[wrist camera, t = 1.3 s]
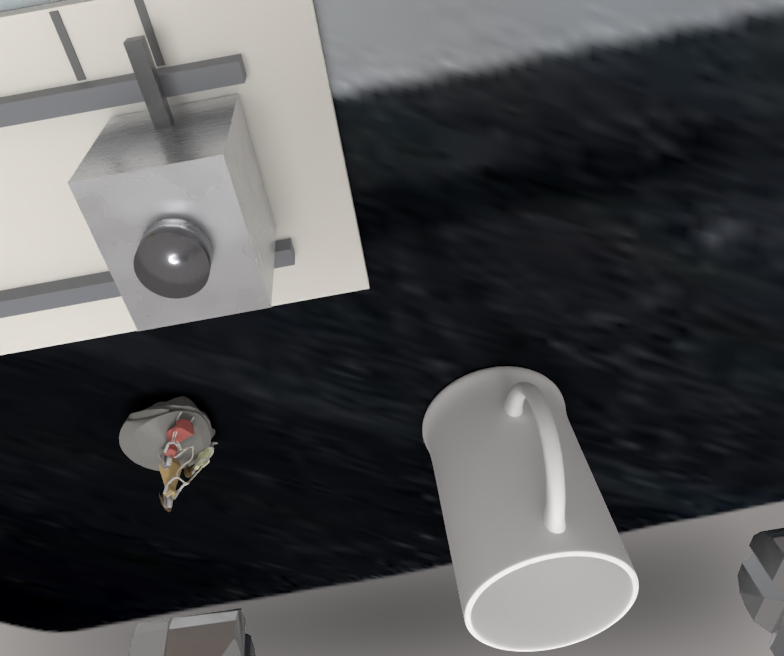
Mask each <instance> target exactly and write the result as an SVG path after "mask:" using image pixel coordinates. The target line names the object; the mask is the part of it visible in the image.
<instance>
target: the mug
mask: <svg viewBox="0 0 784 656" xmlns="http://www.w3.org/2000/svg"><path fill="white" fill-rule="evenodd" d="M422 434H423V439H424V442H425V445H426V447H427V449H428V451H429V453H430V455H431V459H432V463H433V468H434V473H435V478H436V482H437V487H438V492H439V497H440V502H441V507H442V512H443V517H444V522H445V527H446V532H447V537H448V542H449V547H450V552H451V557H452V562H453V567H454V572H455V577H456V582H457V587H458V592H459V597H460V602H461V607H462V611H463V616H464V620H465V624H466V627H467V629H468V630H469V632H470V633H471V634H472V635H473V636H474V637H475V638H476V639H477V640H479V641H480V642H483V643H484V644H486V645H489V646H491V647H494V648H498V649H502V650H508V651H520V652H531V651H543V650H550V649H555V648H560V647H564V646H568V645H571V644H574V643H577V642H580V641H583V640H585V639H588V638H590V637H592V636H594V635H596V634H598V633H600V632H602V631H604V630H605V629H607V628H608V627H610V626H612V625H613V624H614V623H616V622H617V621H618V620H619V619H621V618H622V617H623V616H624V615H625V614H626V613H627V611H628V610H629V609H630V608H631V607H632V605H633V603H634V602H635V600H636V597H637V595H638V589H639V582H638V578H637V575H636V572H635V570H634V568H633V565H632V563H631V561H630V558H629V556H628V554H627V552H626V550H625V547H624V545H623V543H622V540H621V538H620V536H619V534H618V531H617V529H616V527H615V525H614V522H613V520H612V518H611V516H610V513H609V511H608V509H607V507H606V504H605V502H604V500H603V497H602V495H601V493H600V491H599V488H598V486H597V484H596V482H595V479H594V477H593V475H592V473H591V470H590V468H589V466H588V464H587V461H586V459H585V457H584V455H583V452H582V450H581V448H580V446H579V443H578V441H577V439H576V436H575V434H574V432H573V430H572V427H571V425H570V423H569V420H568V418H567V415H566V408H565V402H564V399H563V396H562V394H561V392H560V391H559V389H558V388H557V386H556V385H555V384H554V383H553V382H552V381H551V380H550V379H548V378H547V377H545V376H544V375H542V374H540V373H538V372H536V371H533V370H530V369H526V368H521V367H513V366H500V367H491V368H486V369H482V370H478V371H475V372H472V373H469V374H467V375H465V376H463V377H461V378H459V379H457V380H455V381H454V382H452V383H451V384H449V385H448V386H446V387H445V388H444V389H443V390H442V391H441V392H440V393H439V394H438V395H437V396H436V397H435V398H434V399H433V401H432V402H431V403H430V405H429V407H428V409H427V411H426V413H425V416H424V419H423V425H422Z"/></svg>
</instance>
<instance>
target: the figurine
mask: <svg viewBox="0 0 784 656" xmlns="http://www.w3.org/2000/svg"><path fill="white" fill-rule="evenodd" d="M214 435H215V429H213V428H212V427H211V423H210V420H209V418H208V416H207V414H206V413H205V412H203V411H200V410H199V409H198V408H197V406H196V405H195V404H194V403H193V401H192V400H190V399H189V398H187V397H185V396H180V397H177V398H174V399H171V400H169V401H167V402H157V403H156V404H154V405H153V406H151V407H148V408H147V409H145V410H143V411H139V412H134V413H131V414H130V415H129V417H128V418H127V419H126V421H125V423H124V425H123V427H122V429H121V431H120V435H119V442H120V446H121V448H122V450H123V452H124V453H125V454H126V456H128V457H129V458H130V459H131V460H132V461H134V462H135V463H137V464H139V465H141V466H143V467H146V468H149V469H153V470H157V471H160V472H161V475H162V479H163V482H164V485H165V489H164V491H163V496H162V497H161V496H160V494H159V496H160V497H159V498H160V501H161V504H162V505H163V508H164V509H165V510H167V511H168V512H170V511H171V508H172V503H173V499H176V497H177V496H178V494H179V492H180V491H181V489H182V488H183V487H184V486H185V485H188V484H189V483H190V481H191V480H192V479H193V478H194V477H195V476H196V475H197V473H198V472H200V470H201V469H202V468H203V467H205V466H206V465H207V464H208V463H209V462H210V460H209V458H210V457H211V456H212V454H213V452H214V450H213V449H214V448H213V444H218V443H217V442H212V443H211V438H212V437H213V436H214ZM210 444H211V445H210ZM207 461H208V462H207ZM206 462H207V463H206ZM205 463H206V464H205ZM193 464H195V465H194V467H193V466H192V465H193ZM189 466H190V467H189ZM200 466H201V468H200V469H199V467H200ZM187 467H189V468H188V469H187ZM192 467H193V468H192ZM183 468H185V469H184V470H185V471H184V473H185V476H186V477H188V478H189V477H191V475H192V474H194V473H195V470H198V469H199V470H198V471H197V472H196V474H195V475H194V476H193V477H192V478H191V479H190V480H189V482H184V481H183V480H182V479H181V478H179V476H180V473H181V469H183ZM178 479H180V480H181V481H182V482H183V485H182V486H181V487H180V488H179V489H178V490H177V491H176V490H175V488H176V485H177V482H178ZM162 498H163V499H162Z"/></svg>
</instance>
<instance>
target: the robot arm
mask: <svg viewBox="0 0 784 656" xmlns="http://www.w3.org/2000/svg"><path fill="white" fill-rule="evenodd" d="M749 546H750V547H751V549H752V551H753V552H754V553H753V554H752V555H751V556H750V557H748V558H747V559H746V560H745V561H743V562H742V564H741V567H740V570H739V573H738V582H739V590H740V594H741V597H742V600H743V602H744V605H745V607H746V609H747V610H748V612H749V614H750V615H751V617H752V619H753V621H754V622H756V623H757V624H759V625H760V626H762V627H763V628H765V629H766V630H768V631H769V632H770V633H771V641H770V649H771V651H772V652H773V654H774V656H784V528H780V529H774V530H768V531H762V532H759V533H757V534H756V535H754V536H753V538H752V540H751V543H750V545H749ZM245 626H246V619H245V617H244V614H243V612H242V609H241V608H240V609H233V610H227V611H219V612H213V613H206V614H199V615H193V616H186V617H179V618H167V619H161V620H154V621H148V622H142V623H138V625H137V627H136V629H135V631H134V633H133V635H132V640H131V644H130V650H129V655H128V656H256V655H255V648H254V644H253V641H252V637H251V636H250V635H248V634H246V633H245Z"/></svg>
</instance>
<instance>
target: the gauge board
mask: <svg viewBox="0 0 784 656" xmlns="http://www.w3.org/2000/svg"><path fill="white" fill-rule="evenodd" d="M142 35H145V38H146V41H147V44H148V47H149V50H150V52H151V55H152V58H153V61H154V64H155V67H156V70H157V73H158V75H159V78H160V81H161V84H162V87H163V90H164V93H165V95H166V98H167V101H168V104H169V106H174V105H180V104H185V103H191V102H196V101H202V100H207V99H213V98H218V97H224V96H229V95H235V94H238V95H239V99H240V102H241V106H242V109H243V113H244V116H245V120H246V124H247V127H248V131H249V134H250V138H251V141H252V145H253V148H254V152H255V155H256V159H257V162H258V166H259V169H260V173H261V176H262V180H263V183H264V187H265V191H266V194H267V198H268V201H269V205H270V208H271V212H272V215H273V219H274V222H275V226H276V229H277V230H276V245H275V259H274V274H273V289H272V304H271V306H276V305H281V304H287V303H292V302H298V301H304V300H309V299H315V298H320V297H326V296H331V295H337V294H342V293H348V292H353V291H359V290H364V289H370V288H369V281H368V274H367V269H366V264H365V259H364V254H363V249H362V244H361V239H360V234H359V229H358V224H357V219H356V214H355V209H354V204H353V199H352V194H351V189H350V184H349V179H348V174H347V169H346V164H345V159H344V154H343V149H342V144H341V139H340V134H339V129H338V124H337V119H336V114H335V109H334V104H333V99H332V94H331V89H330V84H329V79H328V74H327V68H326V63H325V58H324V53H323V48H322V43H321V38H320V33H319V28H318V23H317V18H316V13H315V8H314V3H313V0H64V1H59V2H53V3H48V4H43V5H37V6H32V7H26V8H21V9H15V10H10V11H4V12H0V355H5V354H10V353H16V352H21V351H27V350H32V349H38V348H44V347H49V346H55V345H60V344H66V343H71V342H77V341H82V340H88V339H93V338H99V337H104V336H110V335H115V334H121V333H127V332H132V331H138V330H137V328H136V326H135V324H134V322H133V320H132V317H131V315H130V313H129V311H128V309H127V307H126V305H125V303H124V301H123V299H122V296H121V294H120V292H119V290H118V288H117V286H116V284H115V282H114V280H113V277H112V275H111V273H110V271H109V269H108V267H107V265H106V263H105V261H104V259H103V256H102V254H101V252H100V250H99V248H98V246H97V244H96V242H95V240H94V237H93V235H92V233H91V231H90V229H89V227H88V225H87V223H86V221H85V219H84V216H83V214H82V212H81V210H80V208H79V206H78V204H77V202H76V200H75V197H74V195H73V193H72V191H71V189H70V187H69V185H68V181H69V180H70V178H71V177H72V175H73V174H74V172H75V171H76V169H77V168H78V166H79V165H80V163H81V162H82V160H83V159H84V157H85V156H86V154H87V152H88V151H89V149H90V148H91V146H92V145H93V143H94V142H95V140H96V139H97V137H98V136H99V134H100V133H101V131H102V130H103V128H104V127H105V125H106V124H107V122H108V121H109V119H110V118H111V117H114V116H119V115H125V114H130V113H136V112H141V111H147V110H148V109H147V106H146V103H145V101H144V98H143V95H142V93H141V90H140V87H139V84H138V82H137V79H136V76H135V74H134V71H133V68H132V65H131V63H130V60H129V57H128V55H127V52H126V49H125V47H124V44H123V42H124V41H125V40H126V39H127V38H131V37H137V36H142Z"/></svg>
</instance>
